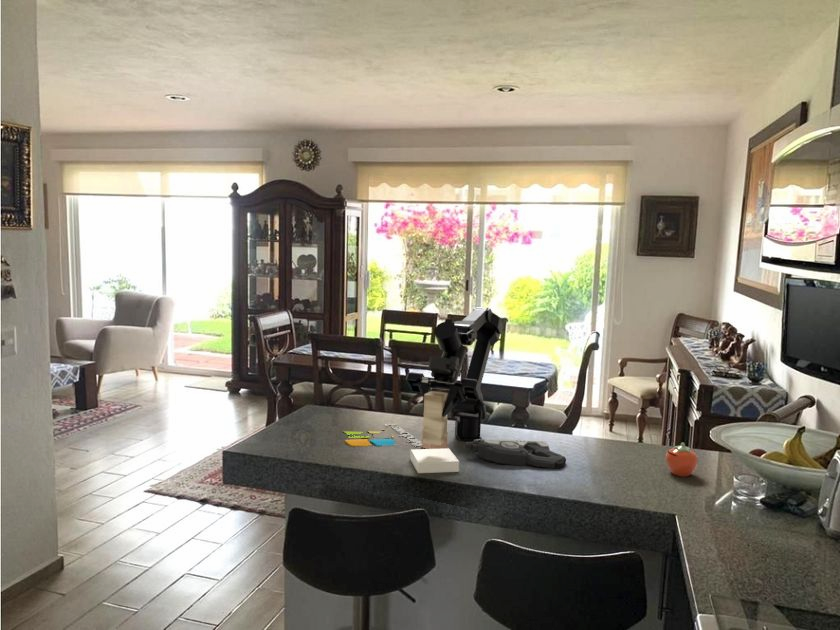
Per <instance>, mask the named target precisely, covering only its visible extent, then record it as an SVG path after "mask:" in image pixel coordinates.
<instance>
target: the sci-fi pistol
mask: <svg viewBox="0 0 840 630" xmlns="http://www.w3.org/2000/svg"><path fill="white" fill-rule="evenodd" d="M464 449H465V451H468V452H471V453H476V454H477V456H478V457H479V458H481V459H483V460H487V461H490V462H491V463H495V464H501V465H509V466H510V465H511V466H533V467H539V468H548V469H549V468H550V469H561V468H564V466H565V465H566V463H567V462H566V461H567V458H566V457H565V456H564V455H562V454H560V453H558V452H555V451H553V450H550V447H549V444H548V443H547V442H545V441H543V440H517V439H516V440H514V439H511V440H509V439H483V438H482V439H476V440H472V442H471V441H468V442H466V443H465V444H464Z"/></svg>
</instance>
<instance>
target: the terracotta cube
mask: <svg viewBox="0 0 840 630" xmlns="http://www.w3.org/2000/svg"><path fill="white" fill-rule="evenodd" d="M421 432H422V433H421V434H422V437H421V442H422V443H421V444H422V446H421V447H422V449H424V448H425V449H446V448H448V438H447V439H446V441H445V442H444V443H442V444H441V445H435V444H429V443H423V430H422V431H421ZM447 437H448V431H447Z"/></svg>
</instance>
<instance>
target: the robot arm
mask: <svg viewBox="0 0 840 630" xmlns="http://www.w3.org/2000/svg"><path fill="white" fill-rule="evenodd" d="M503 329H504V324H503V321H502V319H501V317H500V316H499V315H498V314H496V313H494V312H493V311H492V309H491V308H489V307H481V306H476V307H473V309H472V311H471V312H469V314H468V315H467V316H466V317H464V318H463V319H462V320H456V321H454V318H445V320H444V321H443V322H440V323H438V324H437V325H436V326H435V328H433V333H434V334H433V335H434V336H435V339H436V341H437V345H438V346H439V349H440V350H441V351H442V355H441V356H429V363H428V369H427V370H429V371H431V373H430V375H431V377H432V378H433V379H431V378H429V377H425V375H424V373H423V372H413V371H411V372H408V373H407V375H406V377H405V382H406V384H407V386H408V388H409V390H410V392H411V393H415V394H420V395H421V396H422V404H423V405H422V411H423V413H424V394H426V393H428V392H430V391H433V389H437V390H444V391H449V392H448V398H447V401H446V403H445V406H444V408H443V412H442V416H443V417H445V416H446V415H447V416H448V415H449V413H450V412H451V411H452V412H451V413H452V417H456V420H455V422H454V436H455V437H456V438H457V439H458V440H459V441H474V440H476V439H483V437H481V424H482V420H485V419H486V418H487V417H486V416H487V407H486V405H485V401H484V397H483V393H482V390H481V385H482V384H483V383H482V382H483V379H484V374H485V371H486V367H487V365H488V364H487V363H488V359H489V356H490V352H491V349H492V347H493V346H494V345H495V344H496V343H497V342H498V341H499V340H500V336H501V334H503ZM474 343H475V344H474ZM473 344H474V348H473V351H472V355H471V359H470V362H469V364H468V365H469V366H468V370H467V373H466V375H465V377H463V378H461V381H460V382H458V379H459V378H460V377H461V375H462V373H461V369H462V366H463V363H464V361H465V360H466V359H467V356H466V353H467V350H466V347H465V346H469V347H471V346H472V345H473Z"/></svg>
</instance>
